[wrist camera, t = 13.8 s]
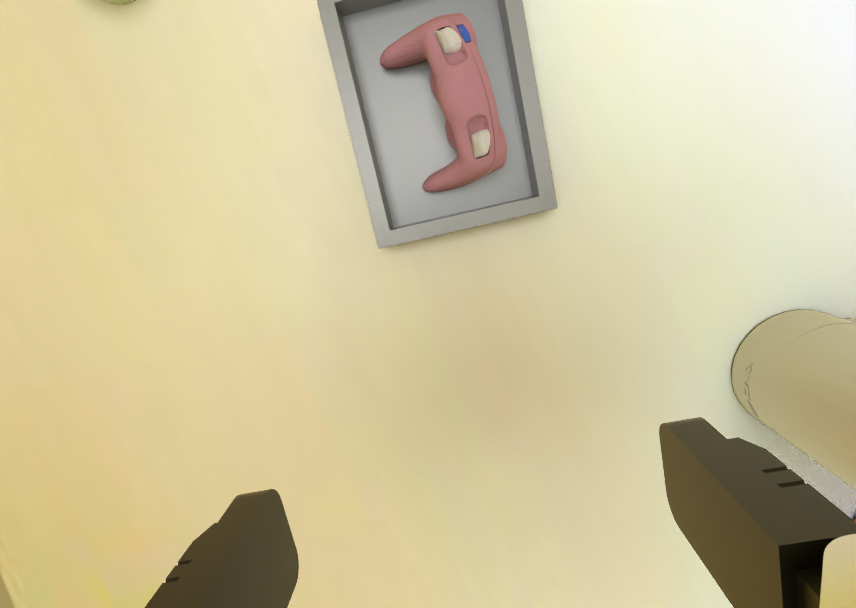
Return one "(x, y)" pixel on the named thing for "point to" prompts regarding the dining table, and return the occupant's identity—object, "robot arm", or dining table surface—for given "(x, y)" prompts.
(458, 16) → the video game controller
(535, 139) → the charcoal tray
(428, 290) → the dining table surface
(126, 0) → the sage cylinder
